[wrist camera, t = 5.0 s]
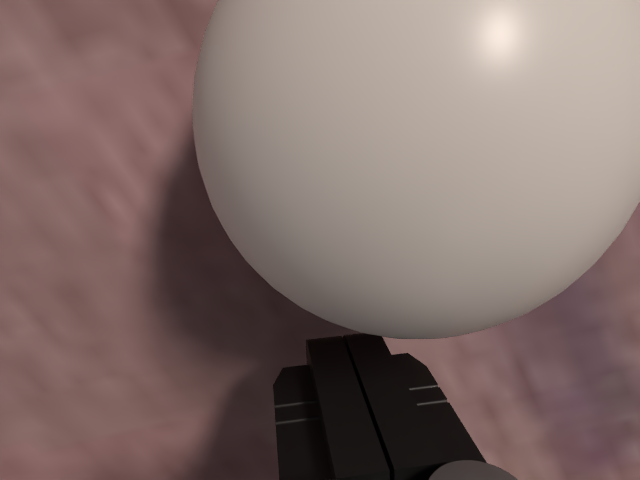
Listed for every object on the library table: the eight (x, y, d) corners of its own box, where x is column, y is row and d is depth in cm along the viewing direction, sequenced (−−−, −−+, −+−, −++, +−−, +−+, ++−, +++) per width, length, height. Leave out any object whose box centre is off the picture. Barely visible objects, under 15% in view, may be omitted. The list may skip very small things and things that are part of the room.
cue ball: (821, 257, 6) (592, -40, 8) (836, -65, 2) (382, -433, 4) (420, 389, 9) (353, 150, 12) (105, 398, 5) (115, 33, 8)
